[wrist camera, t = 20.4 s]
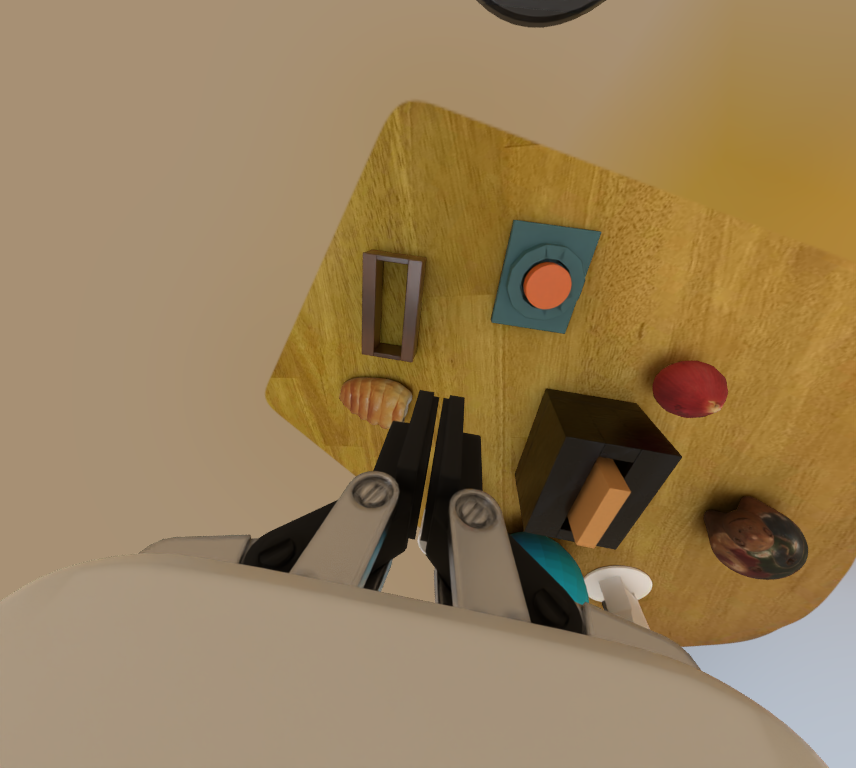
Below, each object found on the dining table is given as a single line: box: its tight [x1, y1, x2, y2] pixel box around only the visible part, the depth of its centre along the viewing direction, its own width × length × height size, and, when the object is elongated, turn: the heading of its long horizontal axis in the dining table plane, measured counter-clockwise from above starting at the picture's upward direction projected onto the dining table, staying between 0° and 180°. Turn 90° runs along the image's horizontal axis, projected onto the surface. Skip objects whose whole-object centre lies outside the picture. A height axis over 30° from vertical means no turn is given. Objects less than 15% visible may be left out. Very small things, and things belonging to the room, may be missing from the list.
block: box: [491, 220, 601, 334], centre depth 31 cm, size 10×8×3 cm
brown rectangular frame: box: [362, 250, 427, 362], centre depth 34 cm, size 11×6×3 cm, turn 173°
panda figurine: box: [584, 566, 652, 630], centre depth 48 cm, size 12×11×15 cm
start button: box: [523, 262, 572, 309], centre depth 29 cm, size 4×4×2 cm
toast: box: [567, 457, 631, 548], centre depth 35 cm, size 9×2×10 cm, turn 173°
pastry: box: [339, 377, 412, 429], centre depth 40 cm, size 9×7×4 cm
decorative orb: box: [510, 532, 589, 605], centre depth 46 cm, size 15×15×15 cm
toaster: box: [515, 389, 682, 549], centre depth 37 cm, size 15×11×10 cm
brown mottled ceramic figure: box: [704, 496, 808, 580], centre depth 41 cm, size 10×15×8 cm, turn 50°
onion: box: [653, 361, 728, 418], centre depth 31 cm, size 6×6×8 cm
